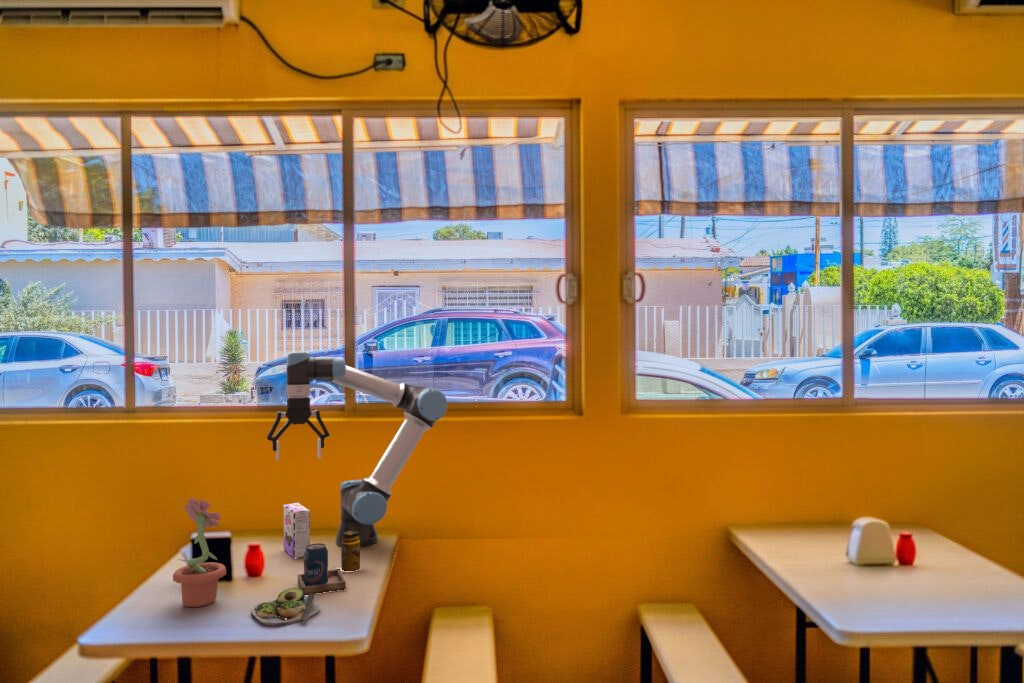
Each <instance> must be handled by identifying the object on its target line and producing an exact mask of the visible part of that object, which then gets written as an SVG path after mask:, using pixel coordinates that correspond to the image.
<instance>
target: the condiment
mask: <svg viewBox="0 0 1024 683" xmlns="http://www.w3.org/2000/svg"><path fill="white" fill-rule="evenodd" d="M342 535H343V537H342V539H343V540H342V542H341V546H340V547H341V548H340V549H341V551H340V552H341V555H340V558H341V562H340V563H341V567H342V570H344V571H356V570H359V569H360V567H361V547H360V540H359V532H358V531H346V532H344V533H343V534H342ZM333 568H335V566H334V567H333ZM362 569H363V570H362V571H364V570H365V568H364V567H362ZM356 572H357V571H356Z"/></svg>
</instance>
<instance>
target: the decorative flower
mask: <svg viewBox="0 0 1024 683" xmlns="http://www.w3.org/2000/svg"><path fill="white" fill-rule="evenodd" d="M186 502H187V503H186V504H185V506H184V507H183V508H184V510H185V511H186V512H187V515H188V516H189V518H190V519H191V520H193V523H194V524H197V530H196V531H197V535H196V537H195V539H194V541H193V542H194V544H198V543H199V547H200V549H201V553H202V554H201V556H198V557H196V558H195V557H194V558H191V559H189V560H185V559H184V560H183V559H182V558H181V559H179V558H178V559H177V560H179V561H182V562H187V564H186V565H185V566H182V567H179V568H177V570H175V571H174V572H173V574H172V581H173V582H175V583H177V584H180V586H181V587H180V588H181V601H182V605H184V606H185V607H188V608H199V607H204V606H208V605H210V604H212V603H214V602H215V601H216V598H217V596H218V595H217V592H218V585H219V584H218V583H219V579H221V578H224V576H226V575H227V569H226V566H225V565H224V564H223V563H220V562H219V563H218V562H213V561H211V562H206V561H207V560H208V559H209V557H210V558H211V559H212V560H213V559H214V560H215V561H218V558H217V557H216V556H215V555H214V554H213V553H212V552H211V551H209V549H210V548H209V546H208V542H207V540H206V536H205V528H211V527H218V526H219V525H220V523H219V522H218V521H221V516H220V514H219V513H218V512H207V510H209V508H210V507H211V504H210V503H209V502H208V501H205V500H202V499H200V500H199V501H198V500H197V499H196V498H189V499H188V500H187V501H186Z"/></svg>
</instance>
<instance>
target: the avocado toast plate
mask: <svg viewBox="0 0 1024 683" xmlns="http://www.w3.org/2000/svg"><path fill="white" fill-rule="evenodd" d="M277 596H278V597H276V599H273V600H268V601H263V602H259V603H257V604H255V605H254V606H252V607H251V609H250V614H251V617H253V619H256V620H257V621H258V622H259V623H261V624H263V625H266V626H268V627H269V626H270V627H280V626H286V625H287V624H288V625H291V624H290V623H292V624H294V622H295V623H298V622H297V621H300V622H303V621H308V619H309V618H310V617H312V616H313V615H315V614H317V613H318V612H319V611H320V610H321V605H319V603H317V602H316V601H314V599H315V595H314V594H309V595H308V596H305V594H304V591H303V590H302V589H300V588H299V587H291V588H288V589H284V590H282V591H281V592H280V593H279V594H278V595H277ZM276 616H277V617H276ZM279 616H280V617H283V618H287V620H285V619H284V620H285V621H284V620H280V621H278V620H276V621H271V620H266V619H271V618H270V617H272V618H280V617H279ZM262 618H263V619H262Z"/></svg>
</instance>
